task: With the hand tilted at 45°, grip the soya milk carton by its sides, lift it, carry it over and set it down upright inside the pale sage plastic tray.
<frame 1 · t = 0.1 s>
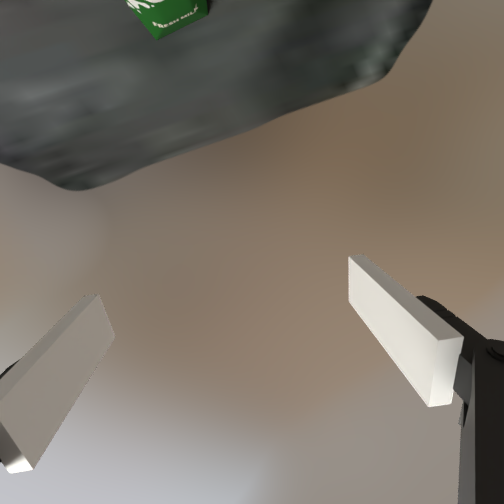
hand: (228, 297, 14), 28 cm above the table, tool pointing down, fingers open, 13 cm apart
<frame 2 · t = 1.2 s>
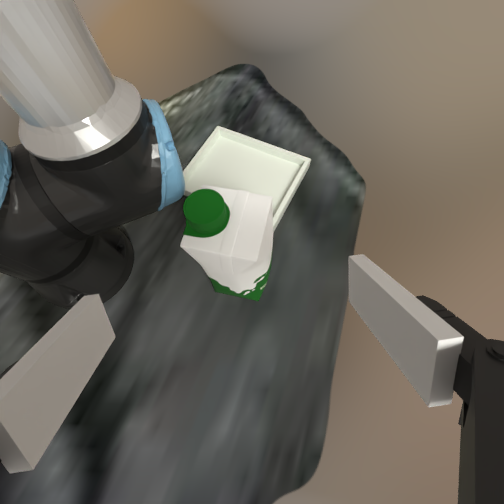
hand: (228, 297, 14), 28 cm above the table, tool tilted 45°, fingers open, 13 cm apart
tray: (243, 179, 51), on the table
soya milk: (242, 276, 44), on the table
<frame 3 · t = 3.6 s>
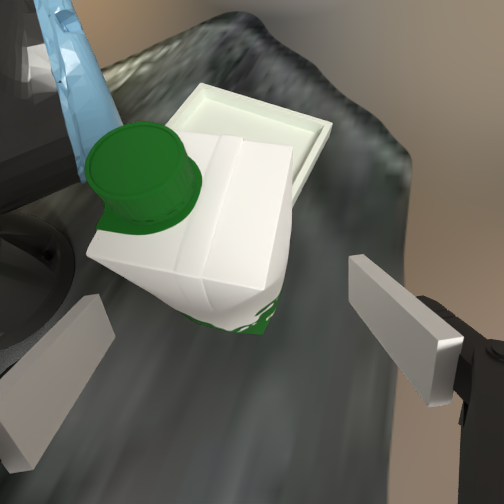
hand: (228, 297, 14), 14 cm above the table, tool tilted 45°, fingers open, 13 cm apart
tray: (237, 154, 36), on the table
soya milk: (237, 295, 29), on the table
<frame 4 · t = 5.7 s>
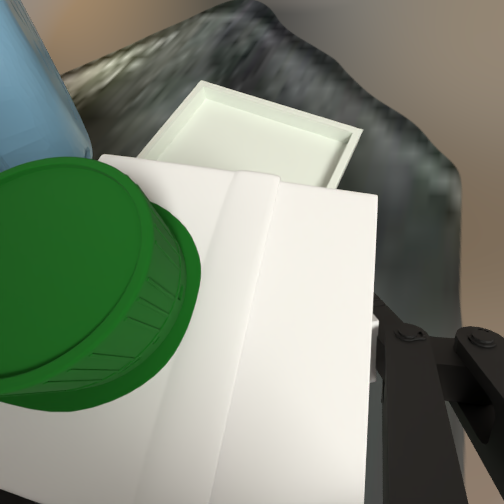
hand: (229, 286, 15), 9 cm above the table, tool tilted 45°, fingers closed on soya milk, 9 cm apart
tray: (244, 167, 30), on the table
soya milk: (246, 353, 22), on the table, touching gripper
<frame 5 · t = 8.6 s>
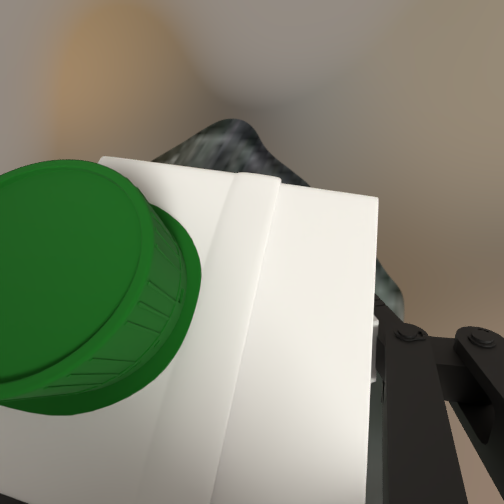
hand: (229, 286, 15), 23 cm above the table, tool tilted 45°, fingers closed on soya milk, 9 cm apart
soya milk: (246, 354, 22), point 14 cm above the table, touching gripper
when the fingers open (11 cm above the table, at t = 11.9 s): soya milk drops 1 cm, resting on tray.
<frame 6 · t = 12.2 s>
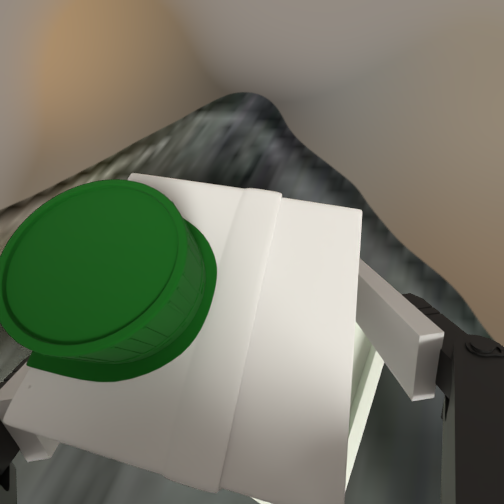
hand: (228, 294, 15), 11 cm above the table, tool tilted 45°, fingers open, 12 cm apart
tray: (248, 354, 24), on the table
soya milk: (247, 355, 24), point 1 cm above the table, touching tray
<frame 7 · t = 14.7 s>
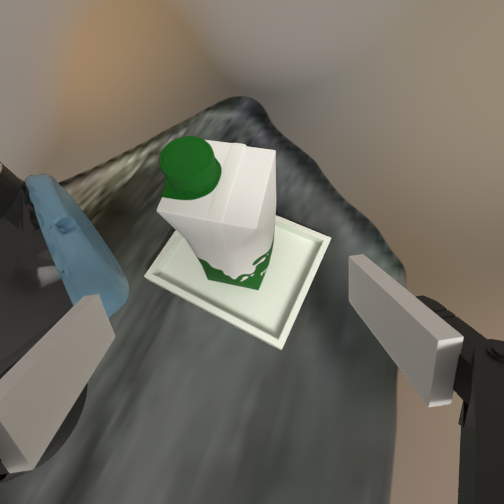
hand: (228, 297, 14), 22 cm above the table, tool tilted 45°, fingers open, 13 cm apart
tray: (240, 262, 38), on the table
soya milk: (239, 262, 38), resting on tray
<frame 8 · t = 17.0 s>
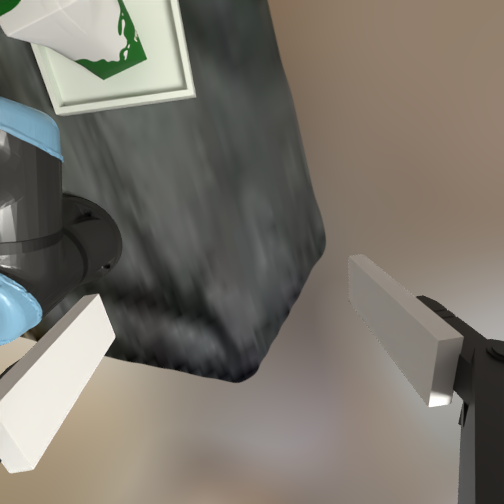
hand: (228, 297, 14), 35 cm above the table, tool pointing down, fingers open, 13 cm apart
tray: (113, 43, 38), on the table
soya milk: (113, 43, 38), resting on tray
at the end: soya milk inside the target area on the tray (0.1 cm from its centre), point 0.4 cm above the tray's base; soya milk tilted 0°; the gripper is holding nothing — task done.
